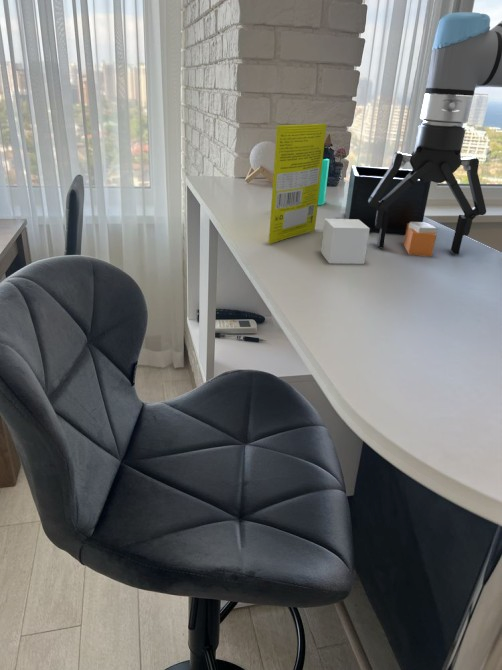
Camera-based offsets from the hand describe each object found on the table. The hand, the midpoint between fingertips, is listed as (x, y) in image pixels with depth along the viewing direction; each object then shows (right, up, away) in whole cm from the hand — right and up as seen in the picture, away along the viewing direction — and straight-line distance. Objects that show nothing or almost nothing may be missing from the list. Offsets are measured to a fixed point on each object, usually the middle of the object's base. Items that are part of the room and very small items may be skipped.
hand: (417, 249), depth 93 cm
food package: (-23, +3, +4) cm, 23 cm away
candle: (-15, +17, +34) cm, 41 cm away
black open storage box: (-3, +8, +17) cm, 19 cm away
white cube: (-15, -3, -7) cm, 17 cm away
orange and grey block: (0, 0, 0) cm, 0 cm away
